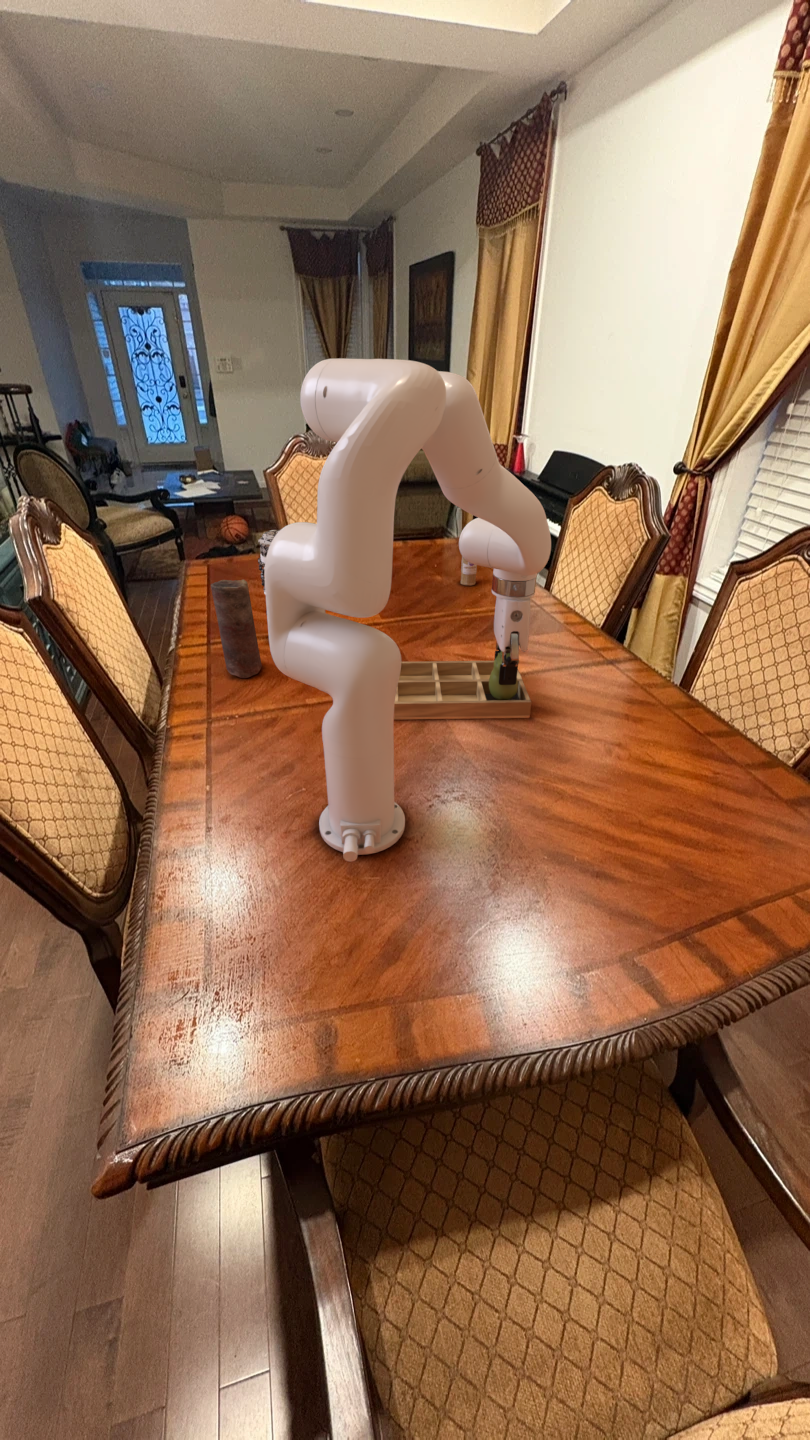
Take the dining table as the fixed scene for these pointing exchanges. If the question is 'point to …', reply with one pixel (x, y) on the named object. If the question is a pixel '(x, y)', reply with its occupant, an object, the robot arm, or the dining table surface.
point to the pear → (495, 688)
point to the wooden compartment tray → (454, 692)
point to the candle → (236, 627)
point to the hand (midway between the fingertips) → (504, 675)
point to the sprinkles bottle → (468, 573)
